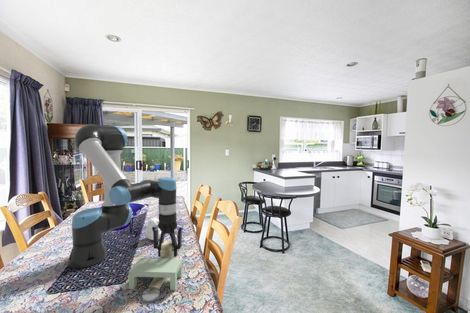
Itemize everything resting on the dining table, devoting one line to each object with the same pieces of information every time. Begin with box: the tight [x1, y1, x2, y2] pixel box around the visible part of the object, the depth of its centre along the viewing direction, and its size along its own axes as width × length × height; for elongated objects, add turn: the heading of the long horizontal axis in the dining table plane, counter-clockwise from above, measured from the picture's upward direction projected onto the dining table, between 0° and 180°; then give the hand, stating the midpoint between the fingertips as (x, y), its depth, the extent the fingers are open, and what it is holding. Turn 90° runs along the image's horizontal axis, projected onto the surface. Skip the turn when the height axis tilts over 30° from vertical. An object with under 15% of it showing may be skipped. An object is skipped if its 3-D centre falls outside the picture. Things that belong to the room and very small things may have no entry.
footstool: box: [128, 257, 183, 291], centre depth 88 cm, size 18×10×7 cm, turn 88°
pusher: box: [148, 240, 173, 290], centre depth 92 cm, size 4×18×11 cm, turn 179°
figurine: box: [144, 217, 161, 241], centre depth 128 cm, size 10×10×12 cm
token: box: [141, 287, 161, 303], centre depth 80 cm, size 6×6×2 cm
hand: (167, 263), depth 99 cm, fingers closed on pusher, 4 cm apart
